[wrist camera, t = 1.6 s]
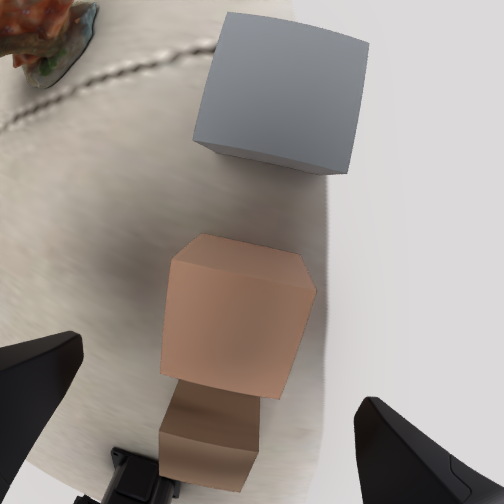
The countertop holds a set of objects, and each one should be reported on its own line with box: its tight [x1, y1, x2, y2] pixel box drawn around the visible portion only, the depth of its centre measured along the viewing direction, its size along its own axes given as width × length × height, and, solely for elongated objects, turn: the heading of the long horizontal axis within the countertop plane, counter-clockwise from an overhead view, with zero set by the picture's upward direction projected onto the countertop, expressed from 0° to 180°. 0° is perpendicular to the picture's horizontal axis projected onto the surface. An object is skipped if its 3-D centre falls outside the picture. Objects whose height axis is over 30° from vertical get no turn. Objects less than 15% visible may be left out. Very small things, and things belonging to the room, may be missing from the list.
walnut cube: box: [159, 379, 260, 492], centre depth 15 cm, size 5×5×5 cm
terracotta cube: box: [160, 233, 317, 400], centre depth 13 cm, size 5×5×5 cm
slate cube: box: [193, 12, 369, 175], centre depth 10 cm, size 5×5×5 cm
